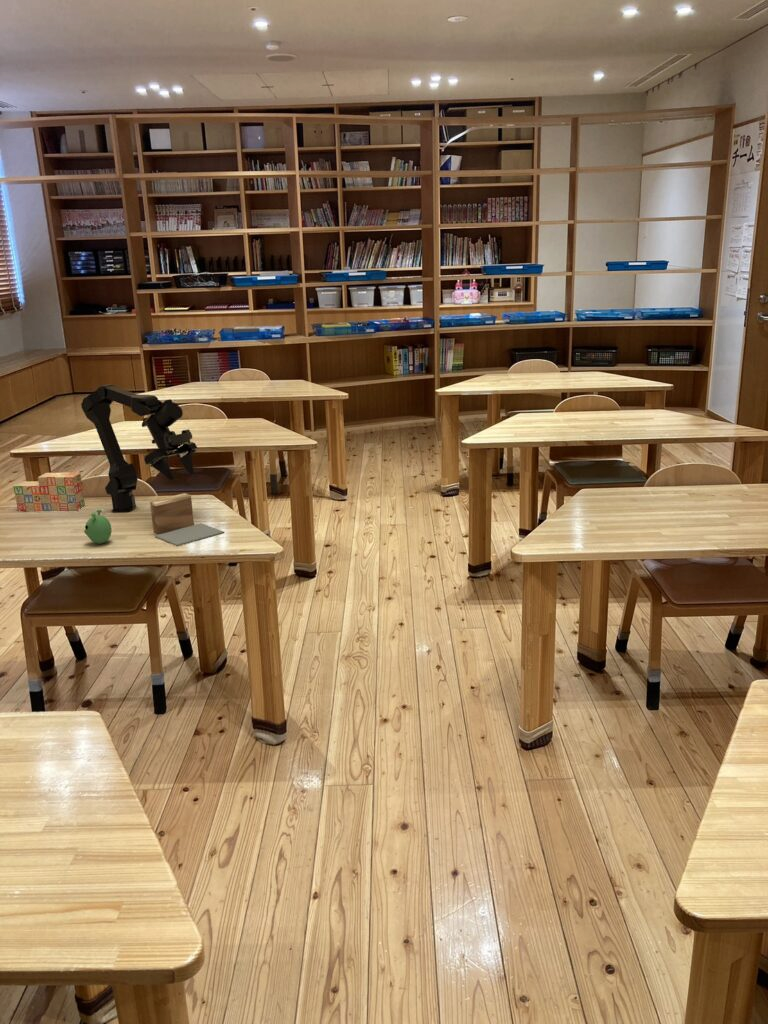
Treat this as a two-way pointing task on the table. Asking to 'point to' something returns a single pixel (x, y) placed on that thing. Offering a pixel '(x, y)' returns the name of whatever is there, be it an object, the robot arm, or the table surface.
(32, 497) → the stack of blocks
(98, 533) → the alien toy
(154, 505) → the slab
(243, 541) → the table surface
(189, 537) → the mat
